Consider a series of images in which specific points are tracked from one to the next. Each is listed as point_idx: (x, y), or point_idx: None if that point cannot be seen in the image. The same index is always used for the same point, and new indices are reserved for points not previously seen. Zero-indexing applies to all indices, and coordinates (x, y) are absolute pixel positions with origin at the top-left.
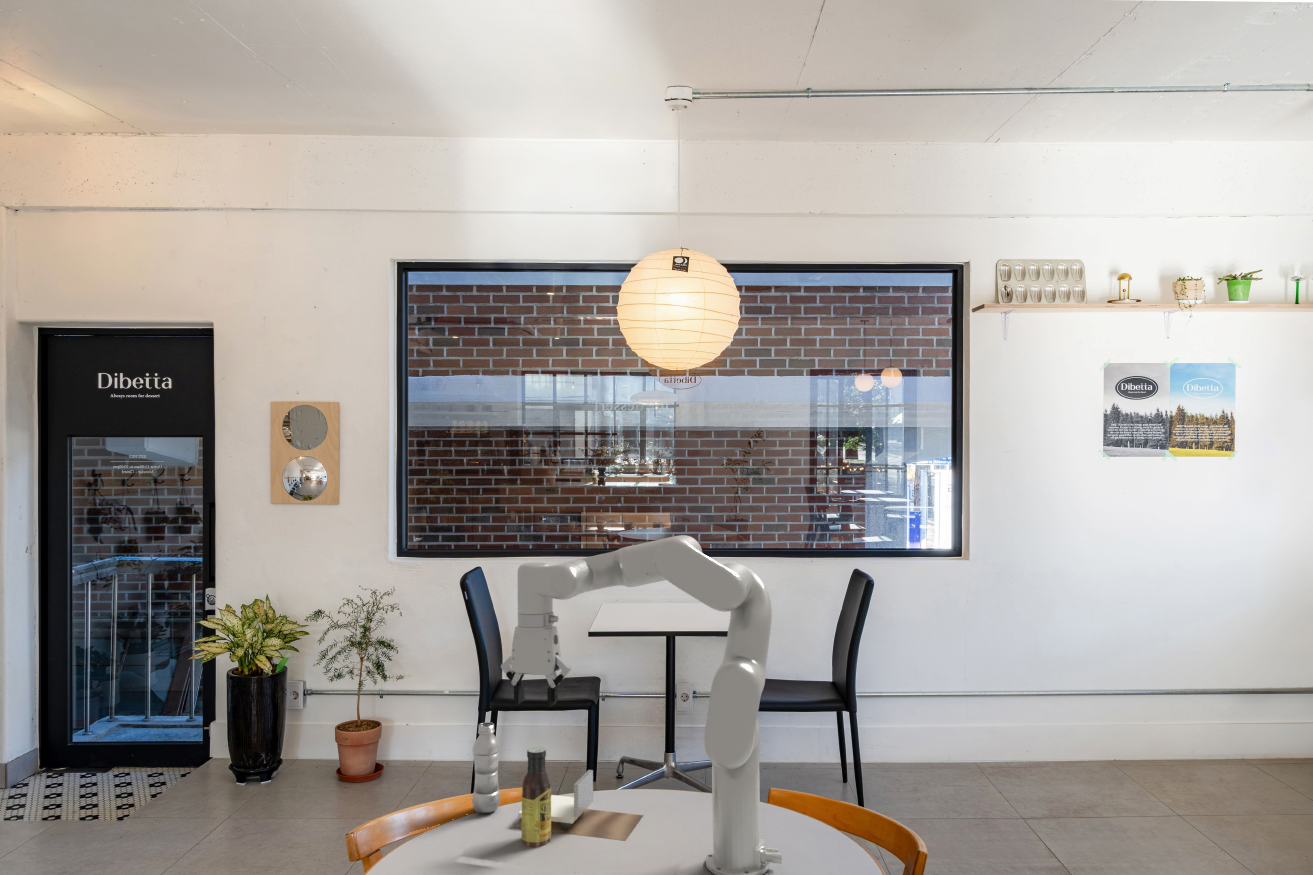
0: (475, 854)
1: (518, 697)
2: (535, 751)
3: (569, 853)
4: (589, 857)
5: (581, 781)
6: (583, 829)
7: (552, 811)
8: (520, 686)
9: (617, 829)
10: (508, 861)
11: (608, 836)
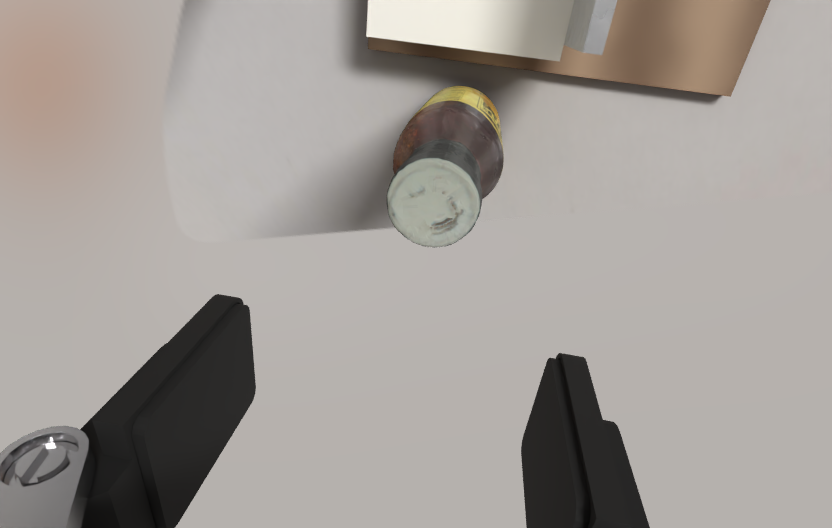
0: (329, 188)
1: (230, 435)
2: (436, 233)
3: (559, 160)
4: (616, 175)
5: (613, 10)
6: None
7: (478, 8)
8: (169, 485)
9: (707, 15)
10: None
11: (674, 75)
